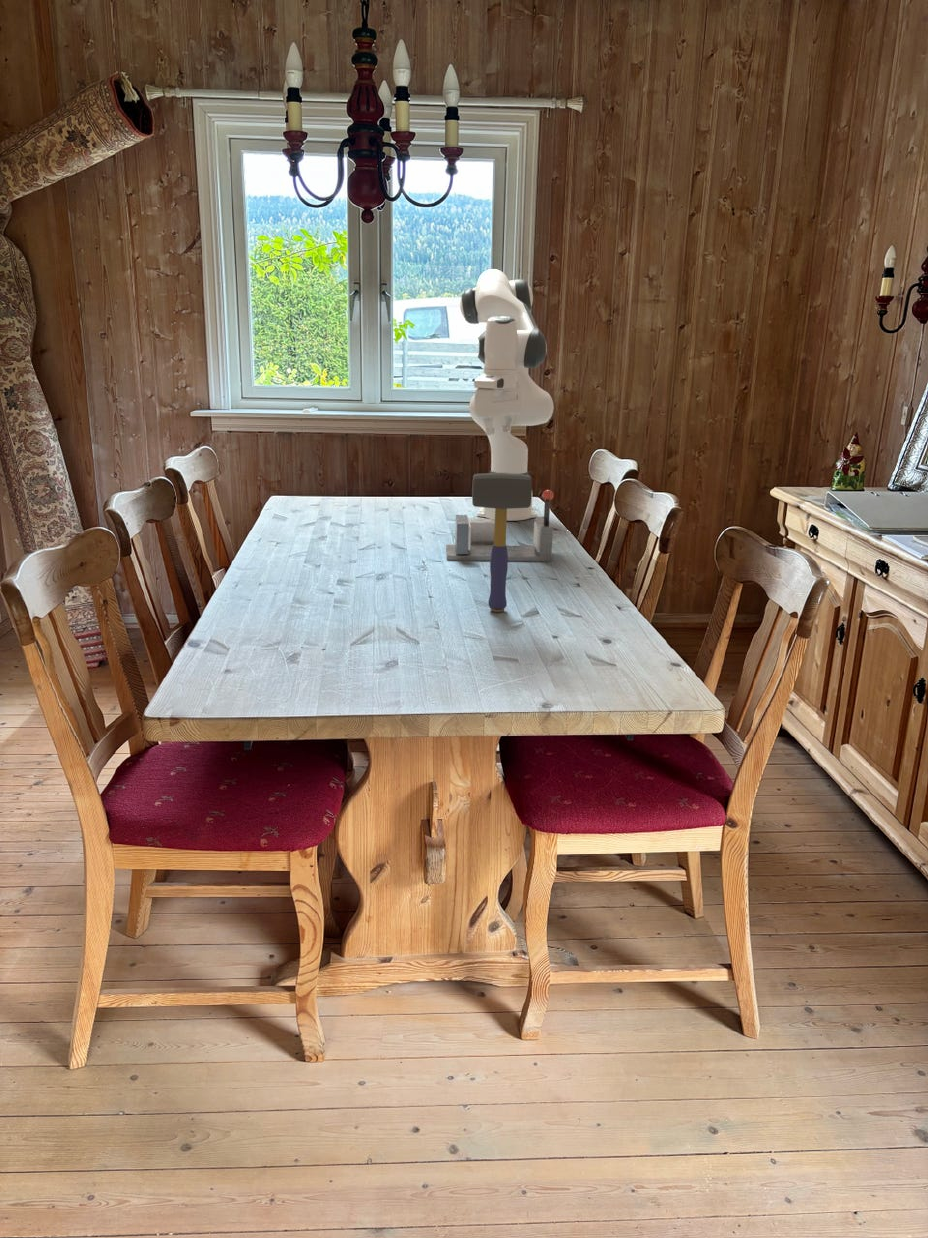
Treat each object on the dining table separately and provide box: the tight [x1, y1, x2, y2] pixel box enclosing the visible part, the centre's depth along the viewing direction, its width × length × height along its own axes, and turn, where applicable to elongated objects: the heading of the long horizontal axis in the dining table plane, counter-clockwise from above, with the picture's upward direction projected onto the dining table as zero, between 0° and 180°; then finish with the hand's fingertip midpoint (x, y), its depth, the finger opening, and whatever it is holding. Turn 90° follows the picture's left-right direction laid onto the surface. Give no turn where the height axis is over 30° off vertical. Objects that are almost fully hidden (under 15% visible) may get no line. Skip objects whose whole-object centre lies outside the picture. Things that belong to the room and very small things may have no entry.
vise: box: [445, 489, 554, 563], centre depth 256 cm, size 12×27×18 cm, turn 92°
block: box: [468, 517, 495, 545], centre depth 268 cm, size 5×10×7 cm, turn 92°
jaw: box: [454, 514, 471, 554], centre depth 257 cm, size 11×4×8 cm, turn 2°
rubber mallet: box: [471, 472, 533, 613], centre depth 208 cm, size 12×8×30 cm, turn 91°
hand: (498, 433), depth 263 cm, fingers open, 8 cm apart
